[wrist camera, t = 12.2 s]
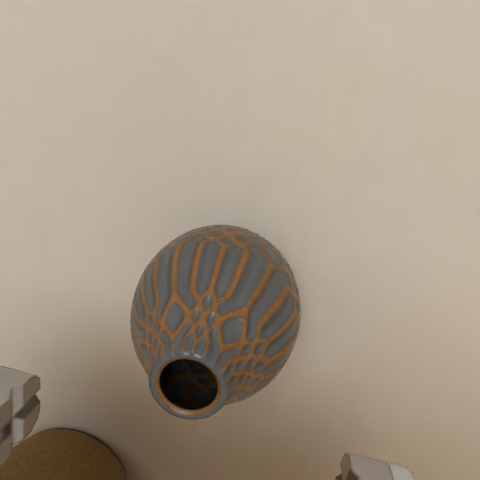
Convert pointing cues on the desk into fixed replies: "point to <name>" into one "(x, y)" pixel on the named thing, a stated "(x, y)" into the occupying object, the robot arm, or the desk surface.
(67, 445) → the plant pot
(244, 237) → the vase
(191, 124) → the desk surface
